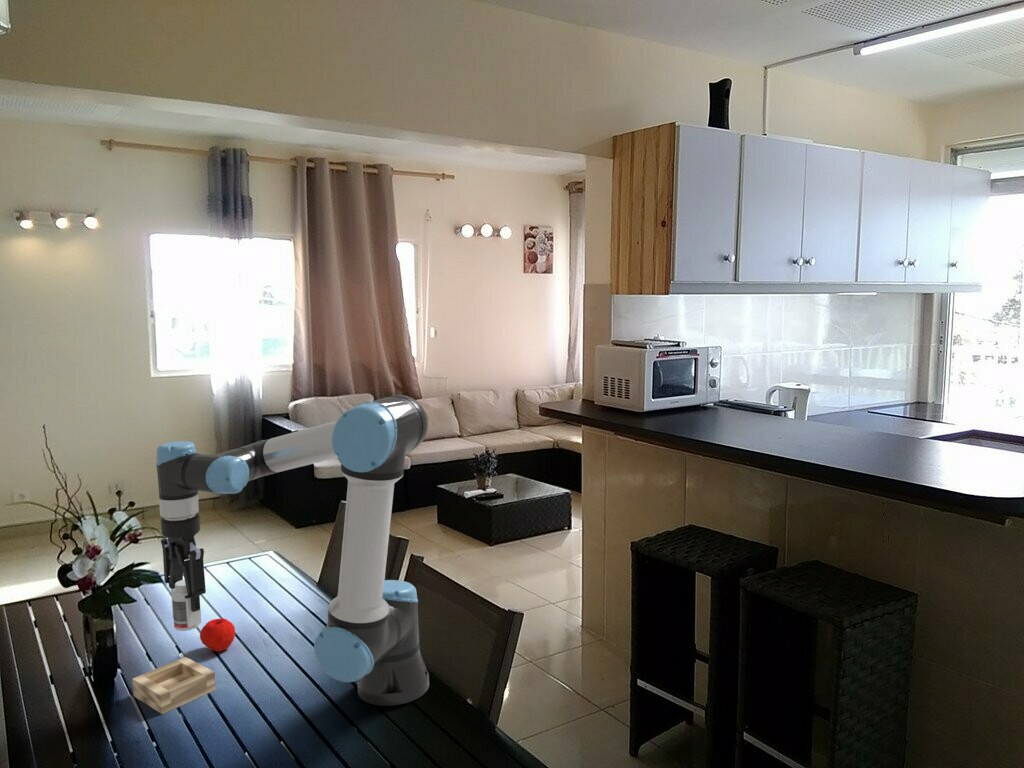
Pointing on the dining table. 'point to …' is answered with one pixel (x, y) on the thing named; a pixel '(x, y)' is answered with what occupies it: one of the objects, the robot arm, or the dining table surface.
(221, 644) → the apple
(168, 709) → the maple holder
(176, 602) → the pill bottle
